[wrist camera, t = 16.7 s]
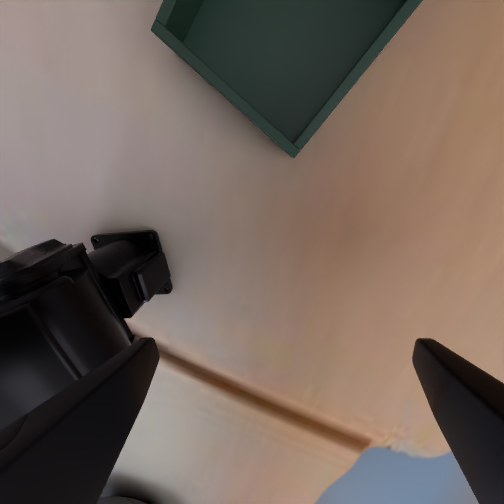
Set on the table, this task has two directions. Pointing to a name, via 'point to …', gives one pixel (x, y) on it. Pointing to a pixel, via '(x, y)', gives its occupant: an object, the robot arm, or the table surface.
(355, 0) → the tray
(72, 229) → the table surface
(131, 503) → the bowl
